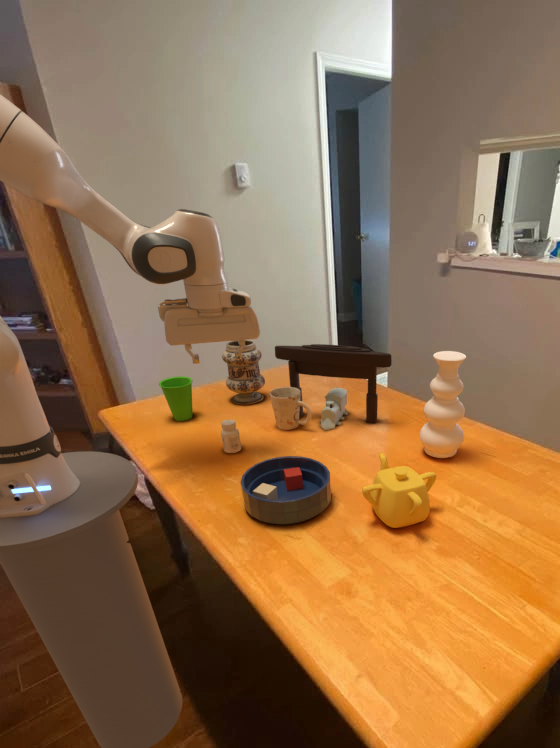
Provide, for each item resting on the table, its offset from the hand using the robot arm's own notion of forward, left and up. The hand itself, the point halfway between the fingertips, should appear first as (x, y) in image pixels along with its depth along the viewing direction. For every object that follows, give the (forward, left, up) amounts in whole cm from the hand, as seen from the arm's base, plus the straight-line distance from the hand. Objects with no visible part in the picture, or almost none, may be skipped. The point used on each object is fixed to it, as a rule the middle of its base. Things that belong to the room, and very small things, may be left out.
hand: (217, 361), depth 106 cm
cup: (-11, +26, -23) cm, 37 cm away
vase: (+49, -20, -23) cm, 58 cm away
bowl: (+8, -28, -23) cm, 37 cm away
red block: (+10, -24, -22) cm, 34 cm away
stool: (+30, +9, -23) cm, 39 cm away
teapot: (+28, -40, -23) cm, 54 cm away
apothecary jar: (+9, +34, -23) cm, 42 cm away
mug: (+18, +8, -23) cm, 31 cm away
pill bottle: (0, 0, -23) cm, 23 cm away
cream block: (+4, -28, -22) cm, 36 cm away
